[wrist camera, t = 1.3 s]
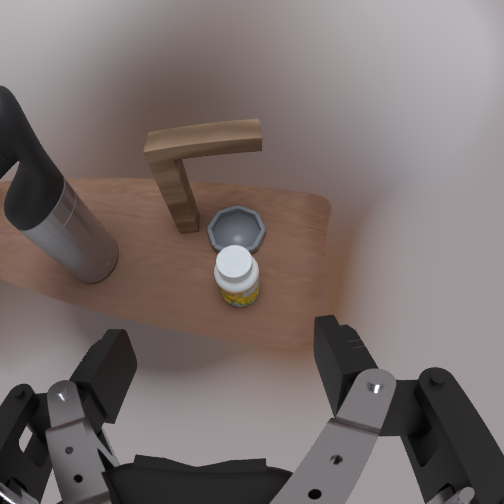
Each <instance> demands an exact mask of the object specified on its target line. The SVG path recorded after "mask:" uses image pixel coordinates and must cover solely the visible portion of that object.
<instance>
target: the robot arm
mask: <svg viewBox="0 0 504 504" xmlns="http://www.w3.org/2000/svg"><path fill="white" fill-rule="evenodd" d="M17 161H20V163H19V166H18V169H17V172H16V175H15V177H14V179H13V181H12V183H11V185H10V187H9V189H8V192H7V194H6V198H5V202H4V212H5V216H6V217H7V219H8V220H9V222H10V223H11V224H12V225H14V226H15V227H16V228H17V229H18V230H19V231H20V232H21V233H23V234H24V235H25V236H26V237H27V238H28V239H29V240H31V241H32V242H33V243H34V244H35V245H37V246H38V247H39V248H40V249H42V250H43V251H44V252H45V253H46V254H48V255H49V256H50V257H51V258H53V259H54V260H55V261H56V262H58V263H59V264H60V265H62V266H63V267H64V268H65V269H67V270H68V271H69V272H71V273H72V274H73V275H75V276H76V277H77V278H79V279H80V280H82V281H83V282H86V283H97V282H99V281H101V280H103V279H104V278H106V277H107V276H108V275H109V274H110V273H111V271H112V270H113V268H114V266H115V264H116V262H117V259H118V247H117V243H116V242H115V240H114V239H113V238H112V237H111V235H110V234H109V233H108V232H107V231H106V229H105V228H104V227H103V226H102V225H101V223H100V222H99V221H98V220H97V219H96V217H95V216H94V215H93V214H92V212H91V211H90V210H89V209H88V207H87V206H86V205H85V204H84V202H83V201H82V200H81V198H80V197H79V196H78V195H77V193H76V192H75V191H74V189H73V188H72V187H71V186H70V184H69V183H68V182H67V180H66V179H65V178H64V176H63V175H62V173H61V172H60V171H59V169H58V168H57V167H56V166H55V164H54V163H53V161H52V160H51V159H50V157H49V156H48V155H47V153H46V152H45V150H44V149H43V147H42V145H41V144H40V142H39V140H38V139H37V137H36V135H35V133H34V131H33V130H32V128H31V126H30V124H29V122H28V120H27V118H26V117H25V114H24V112H23V111H22V109H21V107H20V105H19V103H18V102H17V100H16V98H15V97H14V95H13V94H12V93H11V92H10V91H9V90H8V89H7V88H6V87H4V86H0V179H1V178H2V177H3V176H4V175H5V173H6V172H7V171H8V170H9V169H10V168H11V167H12V166H13V165H14V164H15V163H16V162H17ZM314 357H315V361H316V364H317V367H318V370H319V373H320V376H321V379H322V382H323V385H324V388H325V391H326V394H327V397H328V399H329V403H330V406H331V409H332V412H333V415H334V418H331V419H330V420H329V421H328V422H327V424H326V426H325V427H324V429H323V430H322V432H321V434H320V435H319V437H318V438H317V440H316V441H315V443H314V445H313V446H312V447H311V449H310V451H309V452H308V453H307V455H306V456H305V458H304V459H303V461H302V462H301V463H300V465H299V466H298V468H297V469H296V470H295V472H294V473H292V472H290V471H287V470H284V469H280V468H275V467H268V466H266V459H265V458H263V459H248V460H230V461H226V462H221V463H217V464H211V465H206V466H201V467H194V466H190V465H186V464H183V463H179V462H176V461H173V460H169V459H166V458H159V457H150V456H143V455H136V456H135V459H134V463H128V464H123V465H120V464H119V462H118V460H117V458H116V456H115V454H114V452H113V449H112V447H111V445H110V443H109V440H108V438H107V436H106V433H105V431H104V429H103V428H102V425H103V423H104V422H105V423H111V424H114V423H115V421H116V418H117V415H118V413H119V411H120V408H121V406H122V403H123V401H124V398H125V396H126V393H127V391H128V389H129V386H130V384H131V381H132V379H133V377H134V374H135V372H136V369H137V360H136V356H135V353H134V351H133V348H132V345H131V342H130V339H129V337H128V334H127V332H126V331H125V330H124V329H109V330H107V332H106V333H105V334H104V336H103V338H102V339H101V340H99V341H97V342H96V343H95V344H94V345H92V346H91V347H90V349H89V350H88V352H87V353H86V355H85V356H84V358H83V359H82V361H81V362H80V364H79V365H78V367H77V369H76V370H75V371H74V373H73V374H72V376H71V378H70V379H69V380H63V381H59V382H57V383H55V384H54V385H52V386H51V387H50V388H49V390H48V392H47V393H40V394H35V392H34V391H33V389H32V388H31V386H30V385H28V384H20V385H17V386H15V387H14V388H13V389H12V390H11V391H10V392H9V394H8V395H7V397H6V398H5V400H4V401H3V403H2V404H1V406H0V504H40V503H41V500H42V497H43V494H44V490H45V487H46V484H47V482H48V479H49V476H50V473H51V470H52V468H53V470H54V474H55V478H56V481H57V485H58V488H59V491H60V494H61V498H62V501H60V502H59V503H57V504H345V502H346V501H347V499H348V497H349V496H350V494H351V492H352V490H353V488H354V486H355V485H356V483H357V481H358V479H359V477H360V475H361V473H362V471H363V469H364V467H365V465H366V462H367V460H368V458H369V456H370V454H371V452H372V449H373V447H374V444H375V443H376V440H377V438H378V436H400V437H401V440H402V442H403V444H404V447H405V449H406V452H407V455H408V457H409V460H410V463H411V465H412V468H413V471H414V473H415V476H416V479H417V482H418V484H419V487H420V490H421V493H422V496H423V499H424V502H425V504H504V455H503V454H502V452H501V450H500V448H499V446H498V445H497V443H496V441H495V440H494V438H493V436H492V435H491V433H490V431H489V429H488V428H487V426H486V425H485V423H484V422H483V420H482V418H481V417H480V415H479V414H478V412H477V410H476V409H475V407H474V406H473V404H472V403H471V401H470V400H469V398H468V397H467V395H466V394H465V392H464V391H463V390H462V388H461V387H460V385H459V384H458V382H457V381H456V380H455V378H454V377H453V375H452V374H451V373H450V372H448V371H447V370H445V369H442V368H437V367H434V368H428V369H426V370H424V371H423V372H422V373H421V374H420V376H419V379H418V380H395V378H394V376H393V375H392V374H391V373H389V372H388V371H385V370H382V369H379V368H378V367H377V365H376V363H375V361H374V360H373V358H372V357H371V355H370V353H369V351H368V350H367V348H366V347H365V346H364V343H363V342H362V340H361V339H360V337H359V335H358V334H357V332H356V330H354V329H353V328H351V327H350V326H348V325H341V326H340V325H339V323H338V321H337V320H336V318H335V316H334V315H327V316H319V317H315V322H314ZM26 426H27V427H28V428H29V429H30V431H31V432H32V433H33V434H32V436H31V439H30V441H29V443H28V445H27V447H26V449H25V451H24V453H23V452H22V451H21V449H20V447H19V439H20V437H21V435H22V433H23V431H24V429H25V427H26Z"/></svg>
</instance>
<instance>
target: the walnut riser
mask: <svg viewBox="0 0 504 504" xmlns="http://www.w3.org/2000/svg"><path fill="white" fill-rule="evenodd" d="M255 151H262V136H261V130H260V124H259V119H249V120H237V121H225V122H216V123H207V124H199V125H191V126H184V127H179V128H172V129H166V130H160V131H154V132H150V133H148V137H147V140H146V144H145V148H144V155H145V157H146V160H147V161H148V164H149V166H150V169H151V171H152V173H153V176H154V178H155V180H156V182H157V185H158V187H159V189H160V191H161V193H162V196H163V198H164V200H165V202H166V204H167V206H168V209H169V211H170V213H171V215H172V217H173V219H174V221H175V223H176V226H177V228H178V230H179V232H180V233H191V232H199V212H198V209H197V206H196V203H195V200H194V197H193V193H192V190H191V187H190V184H189V181H188V178H187V174H186V172H185V168H184V165H183V162H182V159H186V158H194V157H202V156H211V155H220V154H231V153H241V152H255Z"/></svg>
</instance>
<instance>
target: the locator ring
mask: <svg viewBox="0 0 504 504" xmlns="http://www.w3.org/2000/svg"><path fill="white" fill-rule="evenodd" d="M207 228H208V229H207V230H208V233H209V237H210V241H211V244H212V246H213V249H215V251H217V252H218V253H220V251H221V250H223V249H224V248H226V247H228V246H231V245H238V246H242V247H244V248H245V249H247V250H248V251H249V253H250V254H253V253H254V252H255V251H257V250H258V248H259V247H260V246H261V244H262V242H263V238H264V235H265V227H264V225H263V223H262V220H261V218H260V216H259V214H258V213H257V212H256V211H254V210H251V209H248V208H245V207H243V206H240V205H239V206H238V205H236V206H233V207H230V208H226V209H223V210H220V211H219V212H217V213H216V215H215V216H214V218H213V219H212V221H211V223H210V224H209V226H208V227H207Z"/></svg>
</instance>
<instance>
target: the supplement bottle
mask: <svg viewBox="0 0 504 504" xmlns="http://www.w3.org/2000/svg"><path fill="white" fill-rule="evenodd" d="M214 275H215V279H216V282H217V284H218V286H219V289H220V291H221V293H222V296H223V298H224V299H225V300H226V301H227V302H228V303H229V304H231V305H234V306H239V307H243V306H247V305H249V304H251V303H252V302H253V301H254V300H255V299H256V298H257V296H258V294H259V268H258V264H257V262H256V260H255V259H254V258H253V257H252V256H251V254H250V253H249V251H248V250H247V249H245V248H244V247H242V246H238V245H231V246H228V247H226V248H224V249H223V250H221V251H220V253H219V254H218V256H217V259H216V265H215V269H214Z"/></svg>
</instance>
